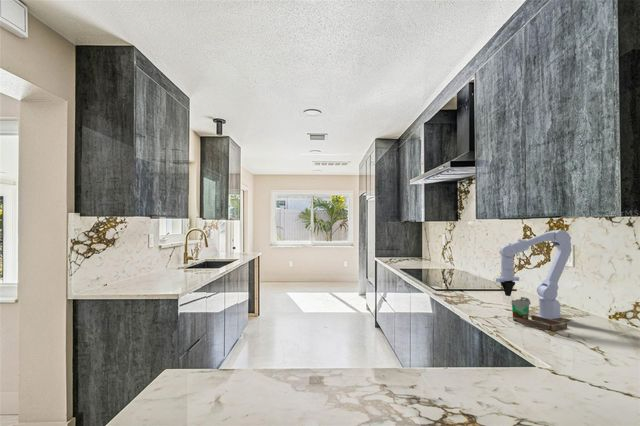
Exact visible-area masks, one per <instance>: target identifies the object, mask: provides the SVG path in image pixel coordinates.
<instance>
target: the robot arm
mask: <svg viewBox="0 0 640 426" xmlns="http://www.w3.org/2000/svg"><path fill="white" fill-rule="evenodd" d="M571 239H572V237H571V236H570V234H569V232H568V231H566V230H563V229H561V230H559V229H558V230H557V229H552V230H550V231H549V230H548V231H546V232H542V233H540V234H538V235H535V236H534V237H531V238H528V239H527V240H526V239H524V238H523V239H522V238H518V239H517V240H516V241H514V242H512V243H511V242H509V243H508V244H507V245H502V246H501V247H500V249H499V254H500V255H501V256H500V258H501V260H500V263H501V264H500V265H501V267H500V270H501V272H500V273H501V276H500V277H496V278H495V283H498V284H499V283H500V285H501V287H502V289H503V292H504V295H505V296H506V297H511V296H512V295H511V294H512V291H513V289H514V287H515V286H516V282H520V276H515V273H514V272H515V269H514V268H515V267H514V265H515V264H514V263H515V261H514V256H515V255H517V254H519V253H523V252H526V251H528V250H529V249H530V247H531V246H534V245H537V244H540V243H543V242H545V241H546V242H547V241H548V242H551V243H552V244H554V245H555V247H556V249H557V252H556V254H555V257H554V260H553V262H552V264H551V266H550V268H549V271H548V273H547V276H546V277H545V279H543V280H542V282H541V284H540V285H538V286H537V288H536V292H537V293H536V294H537V295H538V296H539V297H538V314H534V315H535V316H539V317H543V318H547V319H551V320H555V319H556V320H557V319H561V318H563V316H561V303H560V301H559V300H558V299H557V297H558V290H559V285H558V284H559V280H560V278H561V276H562V274H563V271H564V270H565V267H566V265H567V262H568V260H569V258H570V256H571V253H572V251H573V249H572V243H571V242H572V241H571Z"/></svg>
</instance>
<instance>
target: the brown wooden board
mask: <svg viewBox="0 0 640 426" xmlns="http://www.w3.org/2000/svg"><path fill="white" fill-rule="evenodd" d="M535 315H536V314H531V316H530V317H531V320H530V319H528V320H527V319H523V318H520V317H517V321H516V323H521V324H525V325H528V326H532V327H535V328H537V329H538V328H539V329H543V330H547V331H556V330H562V329H563V330H564V329H567V328H568V322H563V321H558V320H555V319H547V318H543V317H539V316H535Z"/></svg>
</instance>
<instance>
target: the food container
mask: <svg viewBox="0 0 640 426" xmlns="http://www.w3.org/2000/svg"><path fill="white" fill-rule="evenodd" d="M530 305H532V304H531V299H530V298H528V297H523V296H520V298H519V299H515V300H514V299H511V310H512V311H511V312H512V321H514V322H517V317H520V318H523V319H527V320H529V317H530V316H529V314H530Z"/></svg>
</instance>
